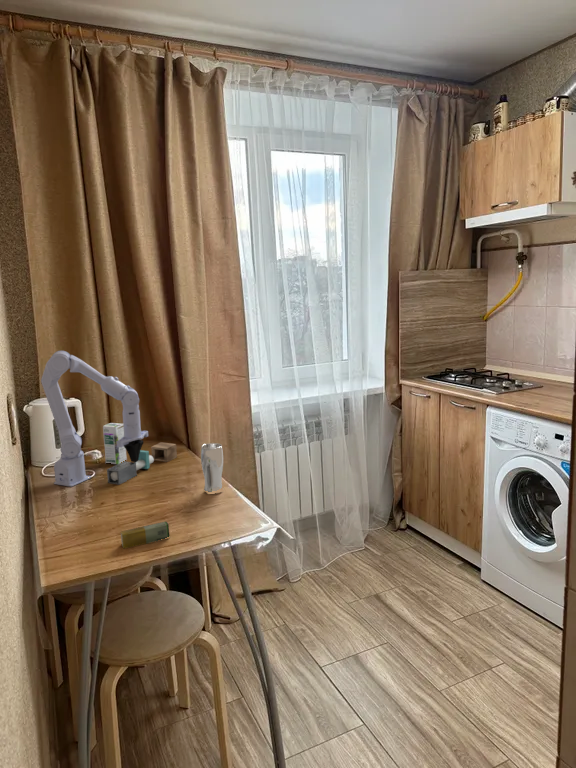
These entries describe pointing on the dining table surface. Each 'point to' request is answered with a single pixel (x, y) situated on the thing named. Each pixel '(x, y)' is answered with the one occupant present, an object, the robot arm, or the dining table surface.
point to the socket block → (164, 452)
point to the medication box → (144, 534)
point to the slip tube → (139, 463)
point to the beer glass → (212, 466)
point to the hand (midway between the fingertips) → (134, 461)
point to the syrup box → (114, 443)
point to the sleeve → (122, 472)
